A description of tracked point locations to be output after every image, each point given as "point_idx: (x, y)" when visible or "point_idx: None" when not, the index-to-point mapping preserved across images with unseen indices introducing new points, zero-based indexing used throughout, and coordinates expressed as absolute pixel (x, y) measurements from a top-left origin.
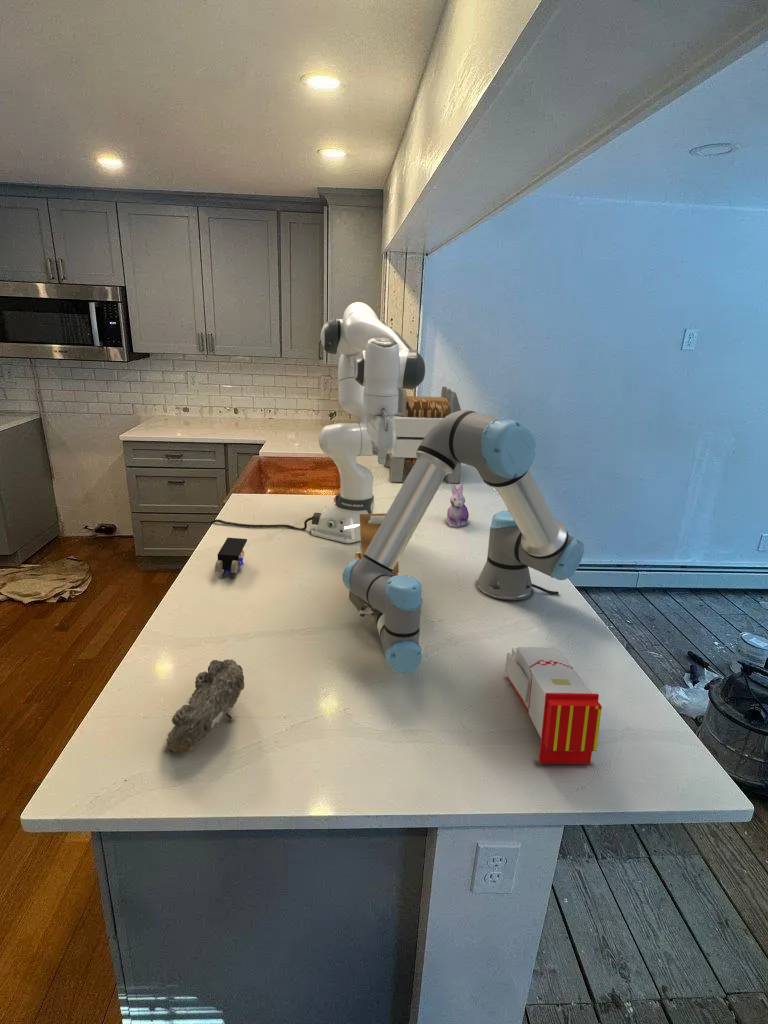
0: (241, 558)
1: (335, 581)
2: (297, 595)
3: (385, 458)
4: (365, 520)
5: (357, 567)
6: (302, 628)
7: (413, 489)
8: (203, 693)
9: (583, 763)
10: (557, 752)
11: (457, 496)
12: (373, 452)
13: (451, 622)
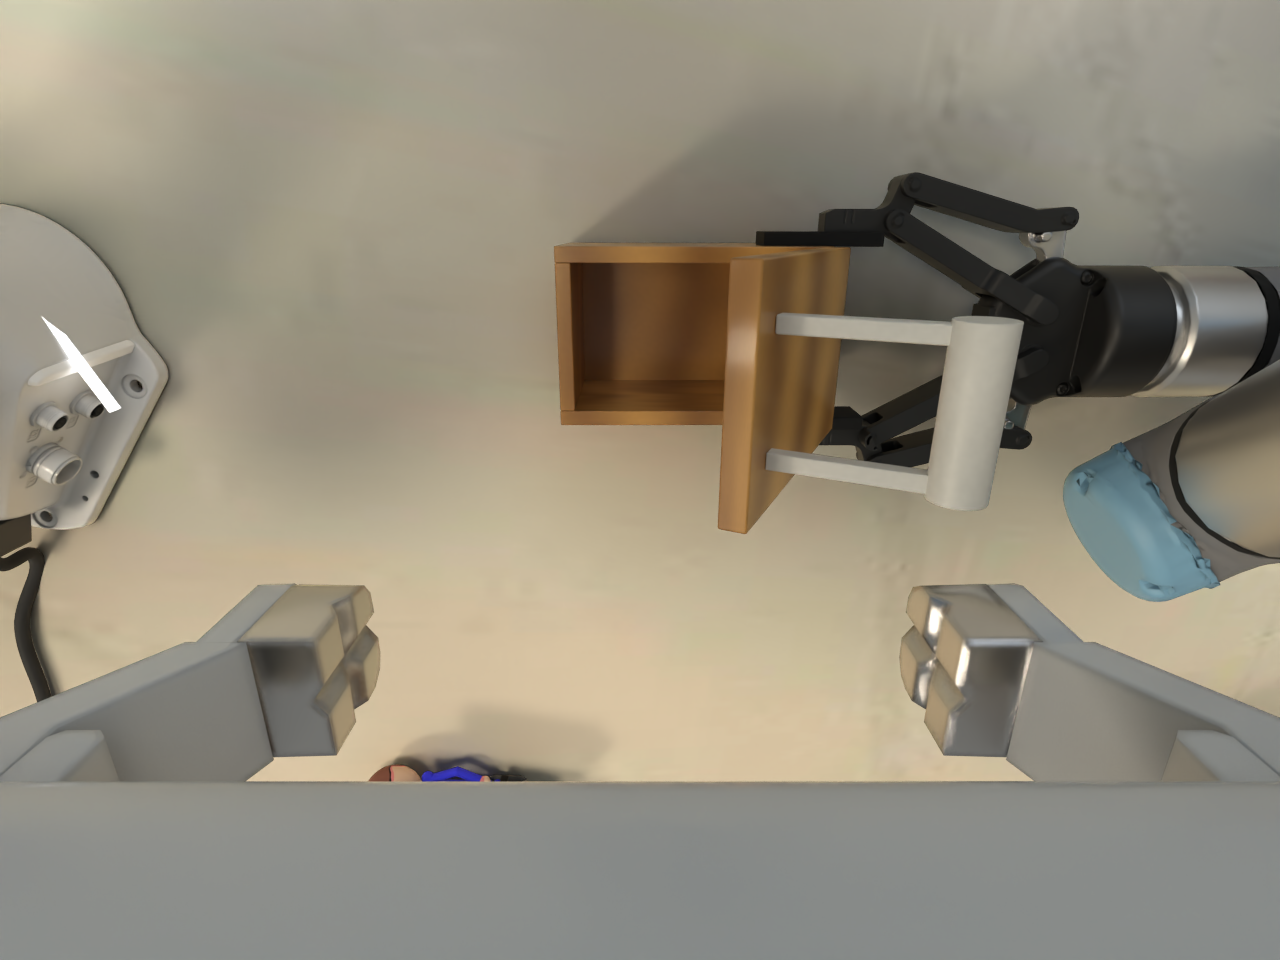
0: (429, 780)
1: (562, 460)
2: (663, 593)
3: (1075, 635)
4: (761, 485)
5: (1251, 566)
6: (881, 584)
7: None
8: None
9: None
10: None
11: None
12: (363, 695)
13: (976, 17)
